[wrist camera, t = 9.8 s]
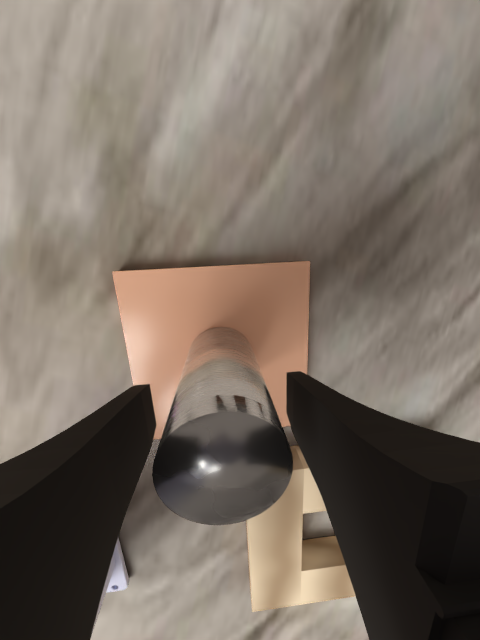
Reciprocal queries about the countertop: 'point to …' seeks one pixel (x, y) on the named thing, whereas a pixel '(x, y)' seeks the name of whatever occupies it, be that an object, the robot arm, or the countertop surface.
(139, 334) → the coaster
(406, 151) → the countertop surface
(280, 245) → the countertop surface
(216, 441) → the glass jar
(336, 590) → the bore block
